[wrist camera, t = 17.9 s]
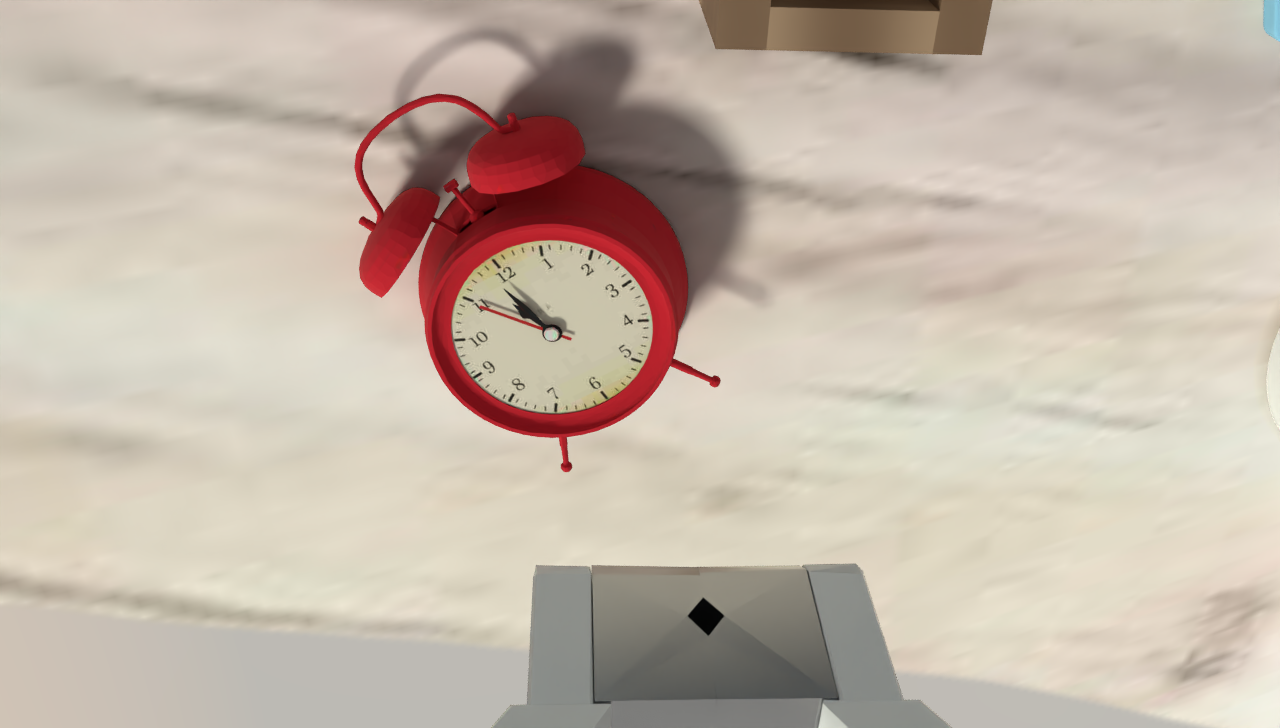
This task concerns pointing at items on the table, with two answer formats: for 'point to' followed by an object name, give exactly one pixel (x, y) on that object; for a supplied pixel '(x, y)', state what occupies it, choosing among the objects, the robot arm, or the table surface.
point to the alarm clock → (536, 280)
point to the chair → (1272, 18)
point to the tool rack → (850, 25)
